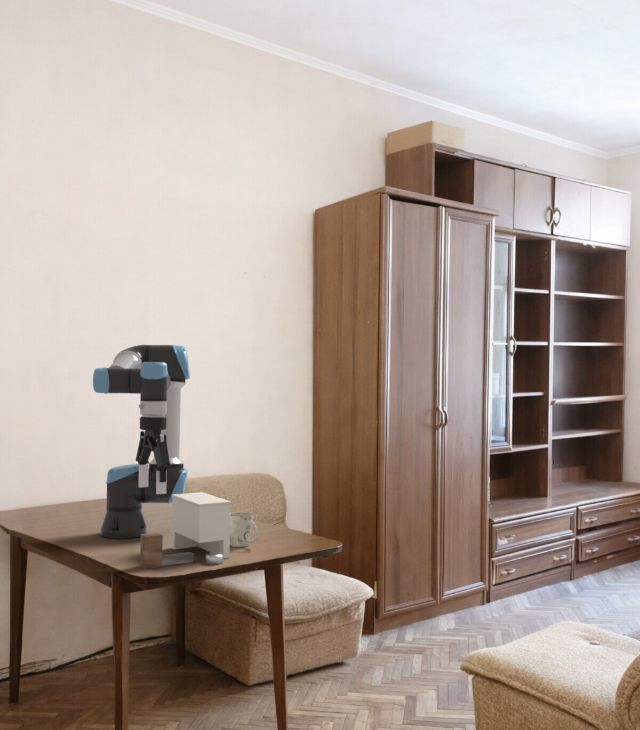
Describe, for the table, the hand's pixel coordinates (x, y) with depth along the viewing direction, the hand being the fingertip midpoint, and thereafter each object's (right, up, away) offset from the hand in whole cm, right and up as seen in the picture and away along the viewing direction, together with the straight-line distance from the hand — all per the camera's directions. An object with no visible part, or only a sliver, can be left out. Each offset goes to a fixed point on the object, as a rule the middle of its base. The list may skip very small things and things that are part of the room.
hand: (152, 490), depth 224 cm
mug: (+24, -22, +27) cm, 42 cm away
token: (+17, -22, +5) cm, 28 cm away
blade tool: (+4, -22, +2) cm, 22 cm away
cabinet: (+11, -22, +17) cm, 30 cm away
